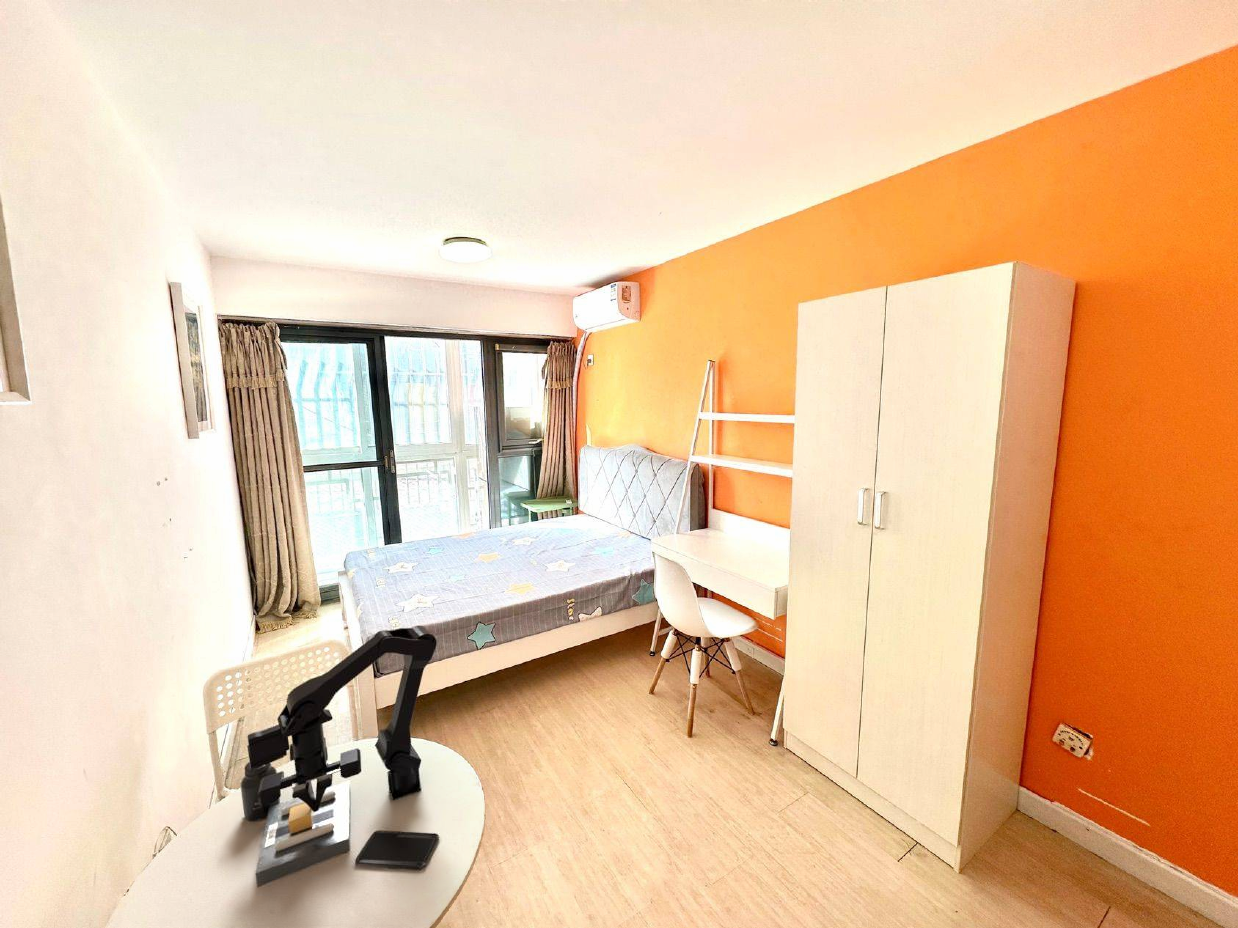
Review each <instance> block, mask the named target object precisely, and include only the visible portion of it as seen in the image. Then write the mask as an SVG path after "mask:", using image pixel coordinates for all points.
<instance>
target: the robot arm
mask: <svg viewBox="0 0 1238 928" xmlns="http://www.w3.org/2000/svg"><path fill="white" fill-rule="evenodd" d="M437 644H438V641H437V638H436V637H435V635H433V634H432V633H431V632H430V631H429V629H427V628H426V627H425V626H423V625H415V626H411V627H401V628H399V627H398V628H395V629H390V630H387V629H386V630H385V629H383V630H382V629H381V630H379V631H378V632H376V633H375V635H374V636H372V637H371V638H370V639H369V640H368V641H365V642H364V644H362V645H360V646H359V647H358V648H357V649H355V650H354V651H353V652H351V653H350V654H349V655H348V656H346V657H345V658H344V659H342V661H340V662H339V663H336V665H334V667H332V668H331V669H329V670H328V671H326V672H324V673H323V674H322V675H319V676H316V677H312V678H310V679H308V680H306V681H304V682H303V683H301V684H300V685H297V686H296V687H294V688H293V689H292V690H291V691H289V693H288V694H287V698H286V701H285V702H286V704H285V705H284V707H283V709H282V711H281V712H280V714H279V715H278V717H277V723H278V724H276V725H274V726H271V727H268V728H265V729H262V730H260V731H255V732H252V733H250V734H248V735H247V744H248V745H247V753H248V754H247V755H248V759H249V760H248V761H249V762H250V768H251V770H254V769H256V768H259V767H261V766H264V765H266V764H269V763H271V764H272V763H273V762H276V761H278V760H280V759H283V758H284V757H286V756H288V755H287V754H288V751H289V759H290V760H289V761H294V767H295V769H294V771H295V773H294V774H291V775H288V776H285V772H284V771H279V772H278V771H277V773H275V774H272V775H269V776H265V777H264V778H263V779H262V780H261V783H260V787H259V791H258V804H259V806H264V805H267V804H270V803H273V802H276V801H277V800H278V799H279V798H280V799H281V797H282V796H281V795H282V793H281V792H282V791H281V790H284V789H287V788H290V787H291V789H292V794H291V797H292V799H296V798H299V799H301V800H302V801H303V802H305V803H306V804H307V805H308V806H309V807H310V808H311V809H312V810H313V811H314V812H316V811H318V810H319V806H320V803H321V800H322V797H323V795H324V793H325V790H326V788H329V787H332V785H333V774H335V773H336V774H337V773H339V772H340V777H341V778H344V779H348V778H351V777H354V776H357V775H359V774H360V773H362V754H361V749H359V748H354V749H350V750H347V751H344V752H341V753H340V757H339V758H340V760H338V761H335V762H332V760H330V761H329V756H328V754H329V753H328V748H327V743H326V742H327V741H326V737H325V735H324V726H323V724H324V723H328V722H330V721H333V715H332V714H331V711H330V709H326V708H327V707H328V706H329V704H331V702H332V700H333V698H334V697H335V695H336V694H337V693H338V692H339V691H340V690H341V689H342V688H344V687H345V686H346V685H348V684H349V683H350V682H351V681H353V680H354V679H355V678H356V677H358V676H359V675H360V674H362V673H363V672H364V671H365V670H366V669H368V668H369V667H370V666H372V665H373V664H374V663H375V662H377V661H378V660H380V659H381V658H382V657H383V656H384V655H385V654H397V655H398V654H399V655H403V663H404V664H403V669H402V672H401V673H402V674H401V677H400V681H399V685H398V690H397V694H396V698H395V702H394V706H393V710H392V713H391V718H390V722H389V724H388V725H387V727H386V728H385V729H379V730H378V737H377V741H376V743H375V744H374V746H375V748H376V751H377V753H378V756H379V758H380V759H381V761H382V763H383V765H384V767H385V768H386V769H387V774H386V775H387V781H388V782H387V783H388V793H389V794H390V795H391V800H392V801H395V800H398V799H400V798H401V799H402V798H403V797H406V796H409V795H412V794H414V793H417V792H421V790H422V783H421V779H420V768H421V763H422V759H421V757H420V756H419V754H418V753H417V751H416V749H415V748H414V746H413V745H412V738H411V724H412V720H413V716H414V712H415V708H416V703H417V699H418V696H419V691H420V686H421V682H422V678H423V675H424V671H425V668H426V667H427V665H429V663H430V661H431V660H432V659H433V656H434V654H435V652H436V650H437ZM289 737H291V743H290V741H289ZM315 780H316V785H315V787H316V788H315V791H314V788H313V784H312V781H315ZM314 792H316V800H315V796H314Z"/></svg>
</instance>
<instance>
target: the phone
mask: <svg viewBox="0 0 1238 928" xmlns="http://www.w3.org/2000/svg"><path fill="white" fill-rule="evenodd" d="M439 841H440V836H439V834H438V833H433V832H419V831H417V832H414V831H401V830H397V831H396V830H380V829H378V830H376V831H374V832H372V833H371V835H370V836H369V838H368V839H367V841H366V842H365V843H364V845H363V847H362V848H361V850H360V852H359V853H358V854H357V856H356V858H355V862H354V863H355V866H356V867H360V868H375V869H387V870H388V869H389V870H403V871H404V870H405V871H421V870H424V869H425V868H426V867H427V865H428V864H429V861H430V860H431V858H432V855H433V854H434V851H435V849H436V847H437V846H438V844H439Z"/></svg>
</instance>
